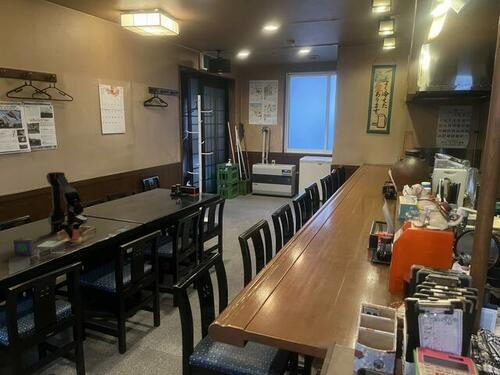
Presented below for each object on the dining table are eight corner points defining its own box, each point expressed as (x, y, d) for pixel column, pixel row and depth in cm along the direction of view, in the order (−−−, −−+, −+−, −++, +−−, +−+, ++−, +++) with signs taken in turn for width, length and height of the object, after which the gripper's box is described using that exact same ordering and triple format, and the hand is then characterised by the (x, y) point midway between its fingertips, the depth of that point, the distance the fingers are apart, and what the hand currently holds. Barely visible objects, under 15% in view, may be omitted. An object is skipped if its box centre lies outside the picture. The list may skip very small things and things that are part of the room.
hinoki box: (57, 242, 212) (57, 232, 211) (72, 235, 226) (71, 226, 225) (83, 243, 211) (83, 233, 210) (96, 235, 225) (95, 226, 224)
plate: (36, 248, 202) (36, 246, 202) (47, 242, 212) (47, 240, 212) (53, 248, 201) (53, 247, 201) (63, 243, 211) (63, 241, 211)
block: (67, 239, 212) (66, 231, 211) (72, 236, 217) (71, 228, 216) (75, 239, 212) (74, 231, 211) (80, 237, 217) (79, 229, 216)
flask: (34, 254, 192) (32, 235, 190) (31, 256, 189) (29, 236, 188) (16, 254, 191) (14, 235, 190) (13, 256, 189) (11, 237, 187)
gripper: (76, 215, 202) (78, 242, 204) (92, 208, 220) (94, 232, 223) (57, 215, 203) (59, 241, 205) (75, 208, 221) (77, 232, 224)
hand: (73, 236), depth 214 cm, fingers closed on block, 5 cm apart
